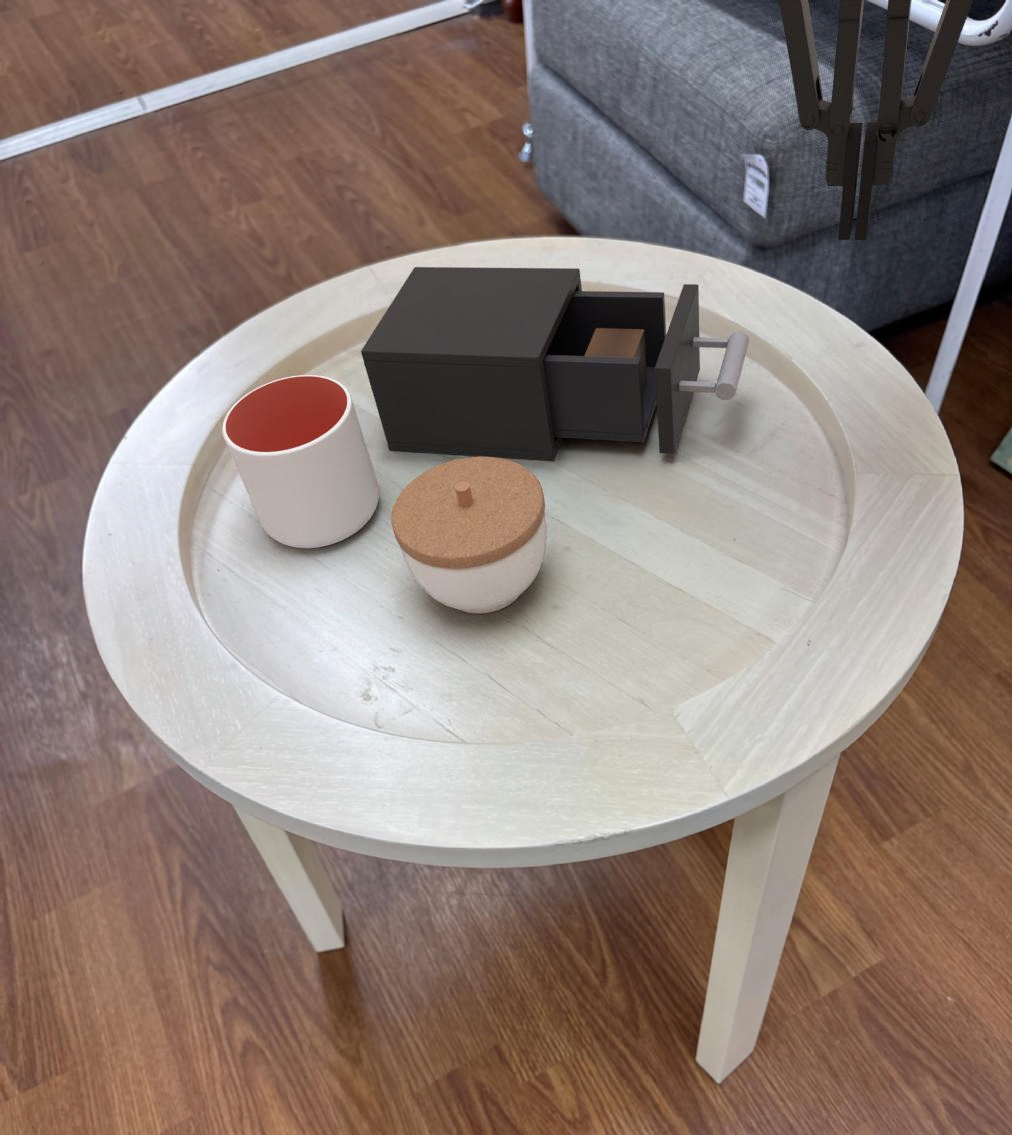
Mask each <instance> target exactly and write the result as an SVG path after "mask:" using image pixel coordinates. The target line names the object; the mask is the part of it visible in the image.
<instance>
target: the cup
mask: <svg viewBox="0 0 1012 1135" xmlns="http://www.w3.org/2000/svg"><path fill="white" fill-rule="evenodd" d="M221 430H222V431H221V432H222V436H223V439H224V442H225V444H226V447H227V449H228V451H229V453H230V455H231V458H232V460H233V463H234V465H235V467H236V469H237V472H238V474H239V476H240V478H241V481H242V484H243V485H244V488H245V490H246V493H247V495H248V498H249V500H250V503H251V505H252V508H253V510H254V512H255V514H256V516H257V518H258V522H259V523H260V525H261V527H262V529H263V530H264V532H265V533H266V534H267V535H268V536H269V537H270V538H272V539H273V540H275V541H277V542H278V543H280V544H282V545H285V546H288V547H292V548H296V549H297V548H299V549H317V548H322V547H326V546H330V545H335V544H336V543H339V542H341V541H343V540H346V539H347V538H350V537H351V536H352V535H354V534H356V533H357V532H358V531H360V530H362V528H363V527H364V526H365V525H366V524H368V522H369V521H370V519H371V518H372V517H373V515H374V513H375V511H376V509H377V507H378V505H379V504H378V503H379V499H380V487H379V482H378V478H377V476H376V472H375V469H374V466H373V463H372V460H371V457H370V453H369V451H368V446H367V444H366V440H365V438H364V433H363V431H362V428H361V424H360V421H359V417H358V414H357V411H356V408H355V404H354V401H353V398H352V395H351V393H350V391H349V390H348V389H347V387H346V386H345V385H344V384H342V383H341V382H339V381H338V380H336V379H334V378H331V377H328V376H324V375H316V374H301V375H293V376H287V377H282V378H279V379H275V380H272V381H269V382H267V383H265V384H262V385H260V386H257V387H256V388H254V389H252V390H251V391H249V392H247V393H245V395H243V396H242V397H241V398H239V399H238V400H237V401H236V402H235V403H234V404H233V406H232V407H231V408H230V409H229V411H228V412H227V413H226V415H225V417H224V419H223V423H222V429H221Z"/></svg>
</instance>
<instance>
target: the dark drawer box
mask: <svg viewBox="0 0 1012 1135" xmlns="http://www.w3.org/2000/svg"><path fill="white" fill-rule="evenodd" d="M582 286H583V285H582V279H581V270H580V268H578V267H577V268H575V267H572V268H570V267H569V268H567V267H565V268H563V267H561V268H560V267H559V268H558V267H466V266H465V267H458V266H457V267H454V266H453V267H452V266H450V267H449V266H448V267H447V266H414V267H413V269H412V271H411V272H410V273H409V275H408V276H407V278H406V280H405V281H404V282H403V284H402V286H401V288H400V289H399V290H398V292H397V294H396V295H395V297H394V298H393V300H392V302H391V303H390V304H389V306H388V308H387V309H386V310H385V312H384V314H383V315H382V317H381V319H380V320H379V322H378V323H377V325H376V326H375V328H374V330H373V331H372V333H371V334H370V336H369V338H368V339H367V341H366V342H365V344H364V345H363V347H362V349H361V350H360V353H361V357H362V360H363V364H364V367H365V371H366V374H367V378H368V381H369V385H370V390H371V392H372V396H373V400H374V403H375V406H376V409H377V413H378V416H379V420H380V423H381V427H382V431H383V433H384V437H385V440H386V444H387V447H388V450H389V451H398V452H411V453H428V454H443V455H457V456H471V457H495V458H502V459H519V460H520V459H521V460H535V461H536V460H537V461H551V462H554V461H555V458H556V456H557V453H558V451H559V448H560V446H561V443H562V441H563V438H560V437H554V435H553V428H552V421H551V414H550V407H549V400H548V394H547V387H546V380H545V373H544V366H543V359H544V357H545V354H546V352H547V350H548V348H549V346H550V344H551V341H552V339H553V337H554V335H555V333H556V330H557V328H558V326H559V324H560V322H561V319H562V317H563V315H564V313H565V311H566V309H567V306H568V304H569V302H570V300H571V298H572V295H573V293H574V291H583V288H582Z"/></svg>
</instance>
